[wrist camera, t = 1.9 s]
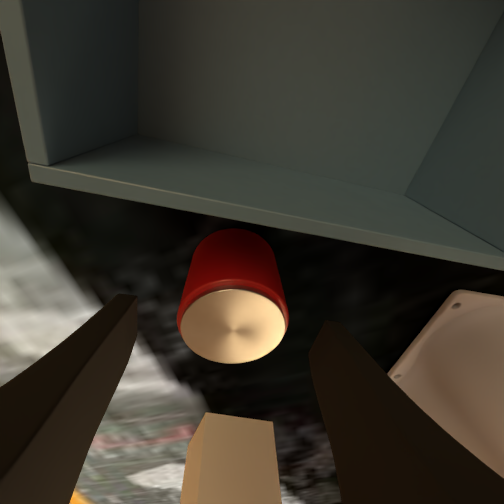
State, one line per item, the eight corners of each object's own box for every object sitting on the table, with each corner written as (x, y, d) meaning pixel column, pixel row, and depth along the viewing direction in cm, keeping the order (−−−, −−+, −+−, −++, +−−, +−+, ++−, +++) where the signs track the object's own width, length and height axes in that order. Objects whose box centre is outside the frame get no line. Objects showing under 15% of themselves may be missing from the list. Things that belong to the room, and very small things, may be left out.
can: (263, 301, 15) (273, 371, 11) (188, 290, 14) (170, 361, 10) (285, 236, 13) (306, 294, 9) (197, 220, 12) (180, 276, 8)
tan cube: (205, 411, 21) (195, 513, 16) (272, 421, 22) (283, 518, 17) (187, 445, 24) (174, 542, 18) (248, 452, 25) (251, 544, 20)
